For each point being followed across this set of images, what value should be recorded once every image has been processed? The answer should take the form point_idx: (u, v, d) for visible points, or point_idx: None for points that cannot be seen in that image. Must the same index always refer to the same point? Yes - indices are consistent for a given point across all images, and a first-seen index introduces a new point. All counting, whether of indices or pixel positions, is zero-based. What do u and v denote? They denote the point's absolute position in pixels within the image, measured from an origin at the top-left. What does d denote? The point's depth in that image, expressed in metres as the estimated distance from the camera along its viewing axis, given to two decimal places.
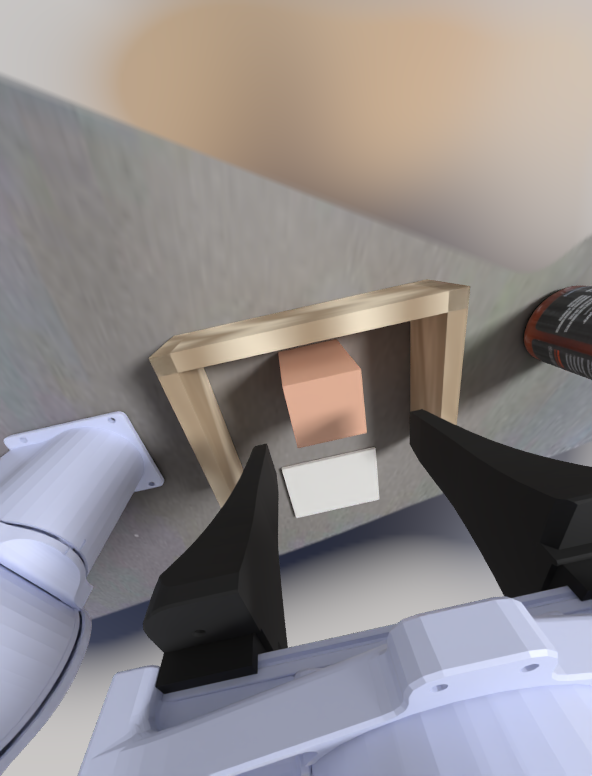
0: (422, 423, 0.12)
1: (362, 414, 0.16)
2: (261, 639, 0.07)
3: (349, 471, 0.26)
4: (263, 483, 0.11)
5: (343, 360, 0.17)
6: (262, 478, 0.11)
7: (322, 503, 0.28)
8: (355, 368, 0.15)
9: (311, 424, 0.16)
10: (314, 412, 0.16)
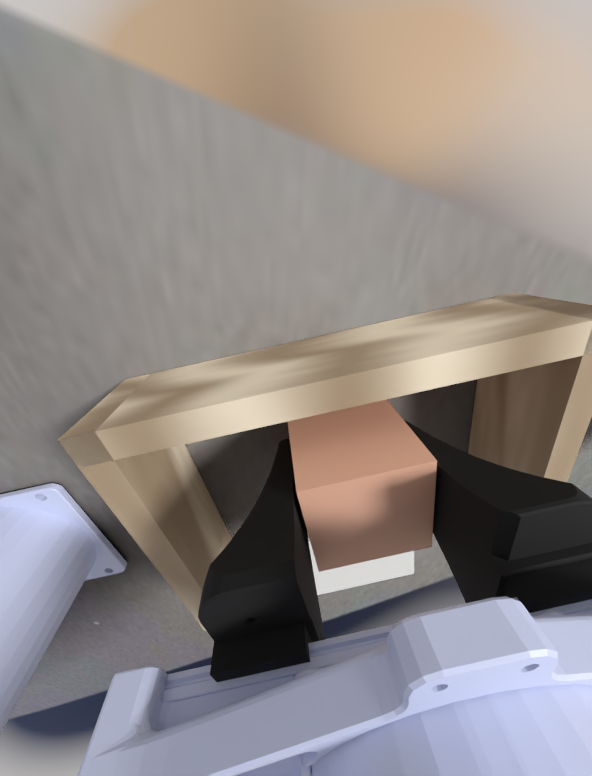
0: None
1: (428, 523, 0.10)
2: (309, 628, 0.07)
3: None
4: None
5: (395, 431, 0.10)
6: (293, 471, 0.11)
7: (340, 580, 0.21)
8: (423, 455, 0.09)
9: (343, 540, 0.10)
10: (349, 525, 0.09)
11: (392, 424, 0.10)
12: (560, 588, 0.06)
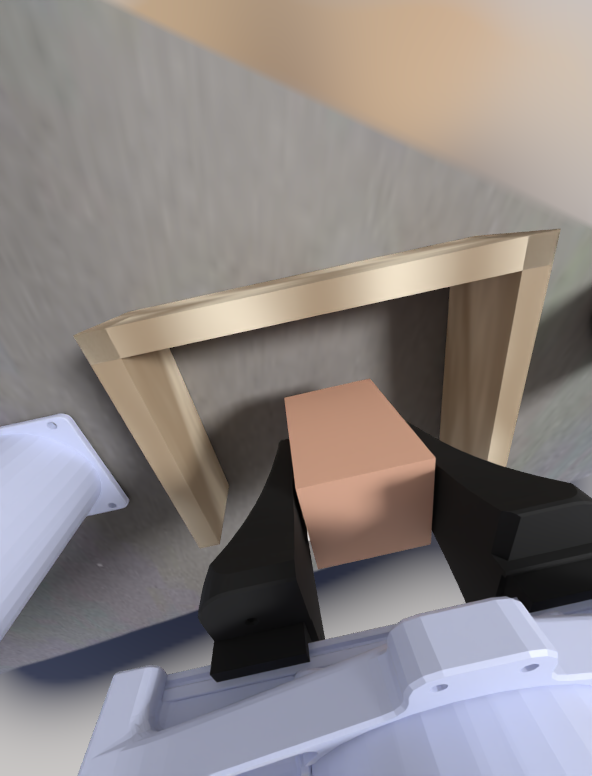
0: None
1: (427, 521, 0.10)
2: (309, 628, 0.07)
3: None
4: None
5: (394, 429, 0.10)
6: None
7: None
8: (422, 452, 0.09)
9: (342, 538, 0.10)
10: (348, 522, 0.09)
11: (391, 422, 0.10)
12: (560, 588, 0.06)
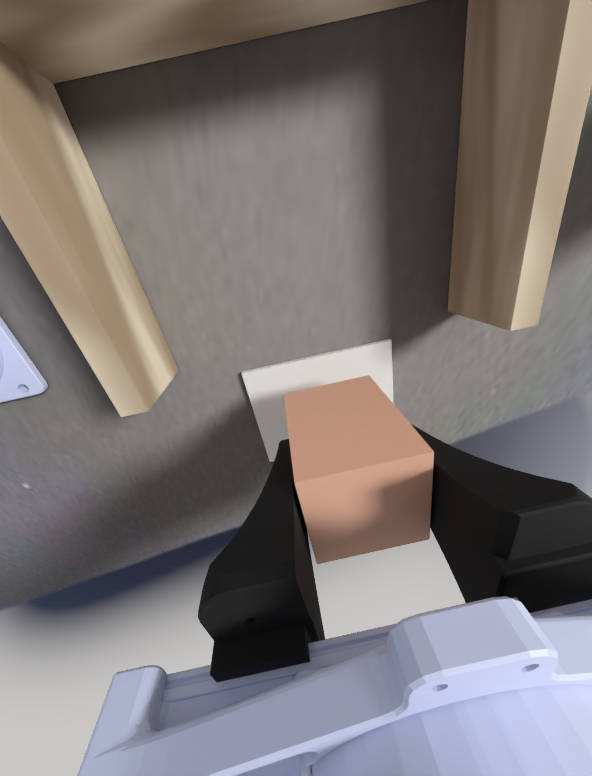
0: None
1: (426, 515, 0.10)
2: (309, 628, 0.07)
3: None
4: None
5: (393, 424, 0.10)
6: None
7: None
8: (421, 447, 0.09)
9: (341, 533, 0.10)
10: (346, 517, 0.09)
11: (390, 417, 0.10)
12: (560, 588, 0.06)
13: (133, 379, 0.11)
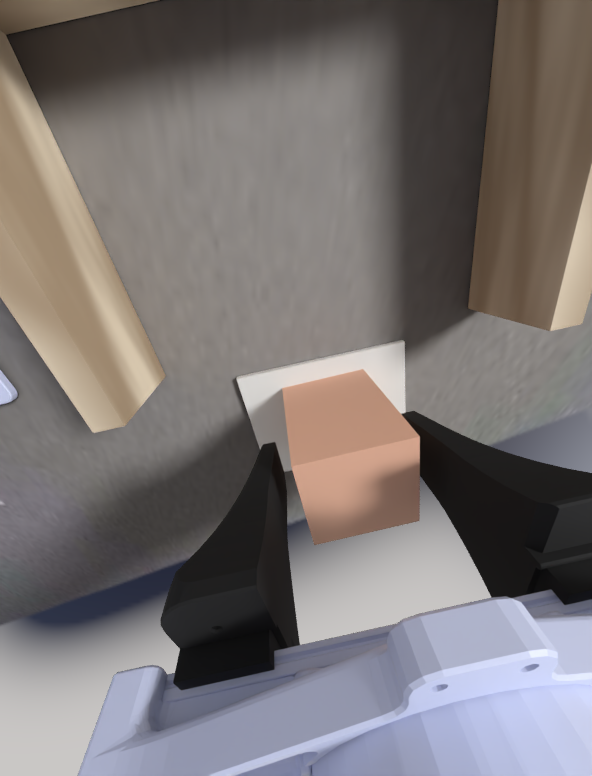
0: (413, 425, 0.12)
1: (415, 498, 0.11)
2: (277, 635, 0.07)
3: None
4: (273, 481, 0.11)
5: (384, 413, 0.11)
6: (272, 476, 0.11)
7: None
8: (408, 432, 0.09)
9: (336, 514, 0.10)
10: (341, 499, 0.10)
11: (381, 407, 0.11)
12: None
13: (106, 389, 0.09)
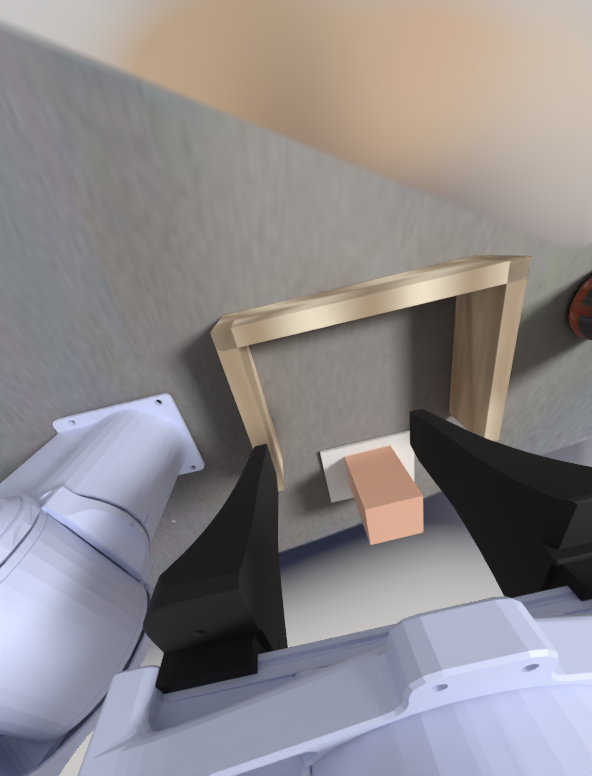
0: (422, 423, 0.12)
1: (421, 521, 0.22)
2: (261, 639, 0.07)
3: None
4: (263, 483, 0.11)
5: (405, 480, 0.22)
6: (262, 478, 0.11)
7: None
8: (417, 493, 0.21)
9: (382, 530, 0.22)
10: (385, 522, 0.21)
11: (403, 476, 0.22)
12: None
13: (279, 475, 0.21)
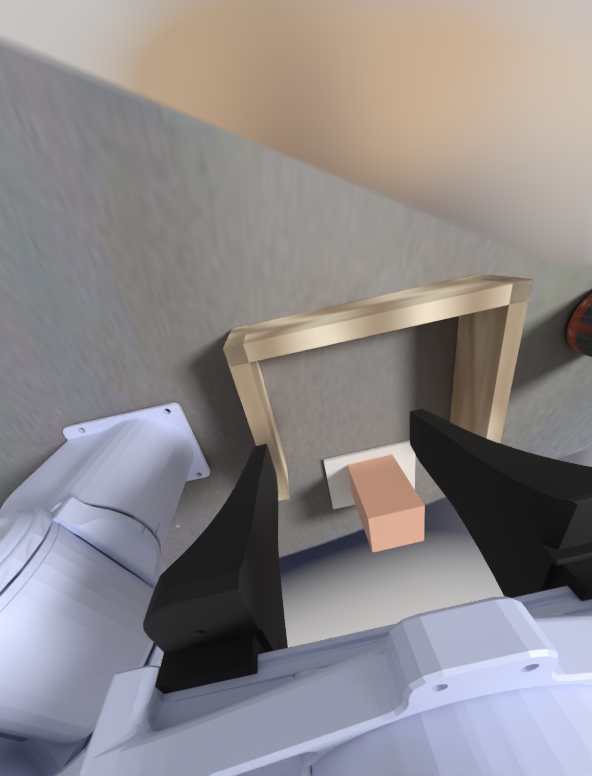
0: (422, 423, 0.12)
1: (422, 530, 0.22)
2: (261, 639, 0.07)
3: None
4: (263, 483, 0.11)
5: (407, 489, 0.22)
6: (262, 478, 0.11)
7: None
8: (419, 502, 0.21)
9: (384, 538, 0.22)
10: (387, 531, 0.22)
11: (405, 485, 0.23)
12: None
13: (285, 484, 0.21)
